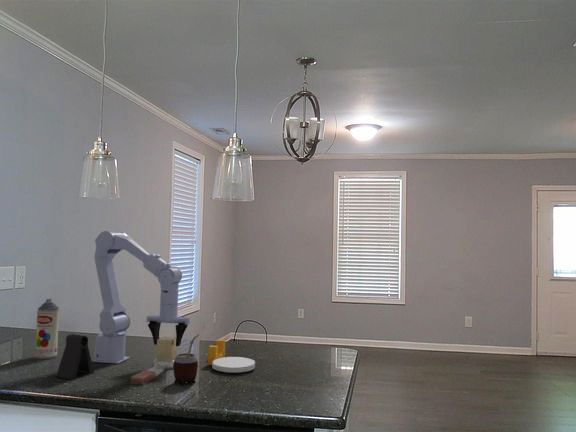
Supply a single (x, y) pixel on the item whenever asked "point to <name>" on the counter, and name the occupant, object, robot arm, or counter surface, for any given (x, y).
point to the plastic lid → (233, 364)
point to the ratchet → (151, 372)
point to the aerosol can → (47, 331)
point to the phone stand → (75, 358)
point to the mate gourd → (186, 366)
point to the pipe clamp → (216, 351)
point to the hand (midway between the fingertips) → (167, 345)
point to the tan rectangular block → (166, 349)
